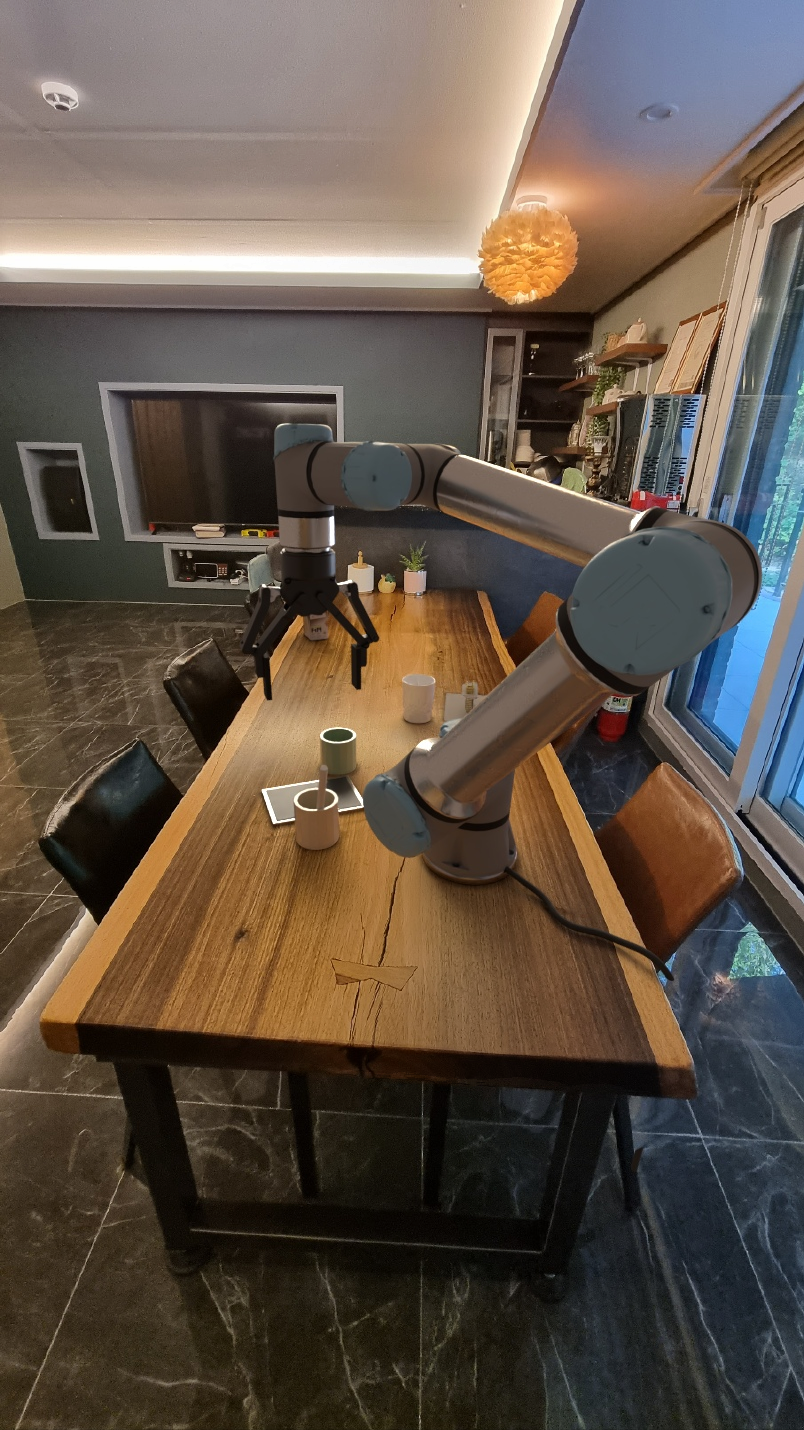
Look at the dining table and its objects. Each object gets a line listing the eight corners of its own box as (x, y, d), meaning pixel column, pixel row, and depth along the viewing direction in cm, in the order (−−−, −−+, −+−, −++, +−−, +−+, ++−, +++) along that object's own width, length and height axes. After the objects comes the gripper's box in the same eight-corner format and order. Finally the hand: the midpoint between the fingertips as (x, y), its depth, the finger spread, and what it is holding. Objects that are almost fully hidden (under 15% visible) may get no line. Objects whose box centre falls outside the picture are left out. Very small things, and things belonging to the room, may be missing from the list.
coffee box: (328, 638, 207) (327, 591, 201) (310, 640, 205) (308, 593, 198) (320, 631, 215) (318, 586, 208) (302, 633, 212) (300, 587, 206)
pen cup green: (360, 773, 124) (360, 740, 121) (326, 779, 121) (325, 745, 118) (350, 757, 130) (350, 725, 127) (317, 762, 128) (316, 730, 124)
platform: (443, 720, 149) (445, 695, 146) (446, 693, 165) (447, 670, 162) (493, 723, 148) (495, 698, 145) (490, 695, 164) (492, 672, 161)
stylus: (322, 836, 103) (328, 770, 93) (314, 837, 103) (320, 771, 92) (320, 830, 104) (326, 764, 94) (313, 832, 103) (319, 765, 93)
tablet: (367, 810, 111) (367, 805, 111) (273, 828, 106) (273, 823, 105) (348, 779, 122) (348, 774, 121) (261, 793, 116) (261, 789, 115)
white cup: (430, 726, 145) (432, 687, 141) (398, 722, 147) (399, 683, 143) (435, 713, 152) (437, 675, 148) (404, 710, 154) (405, 672, 150)
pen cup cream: (343, 844, 102) (343, 806, 99) (301, 853, 99) (299, 814, 96) (332, 821, 108) (331, 784, 105) (291, 829, 105) (289, 791, 102)
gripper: (383, 541, 92) (382, 674, 100) (210, 547, 83) (225, 692, 92) (402, 548, 85) (399, 690, 94) (216, 556, 77) (231, 711, 85)
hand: (313, 692), depth 93 cm, fingers open, 13 cm apart
